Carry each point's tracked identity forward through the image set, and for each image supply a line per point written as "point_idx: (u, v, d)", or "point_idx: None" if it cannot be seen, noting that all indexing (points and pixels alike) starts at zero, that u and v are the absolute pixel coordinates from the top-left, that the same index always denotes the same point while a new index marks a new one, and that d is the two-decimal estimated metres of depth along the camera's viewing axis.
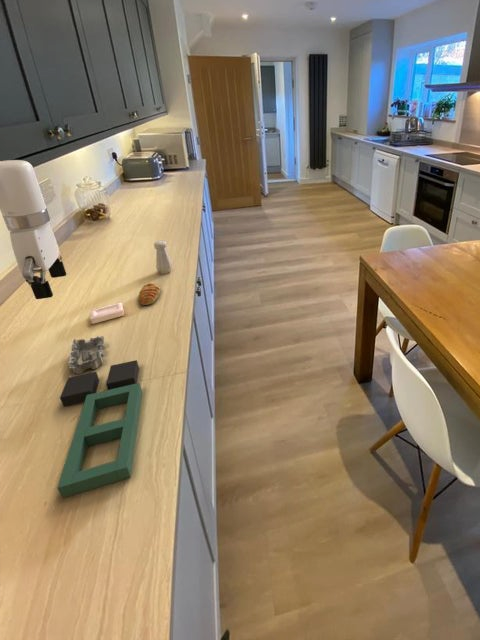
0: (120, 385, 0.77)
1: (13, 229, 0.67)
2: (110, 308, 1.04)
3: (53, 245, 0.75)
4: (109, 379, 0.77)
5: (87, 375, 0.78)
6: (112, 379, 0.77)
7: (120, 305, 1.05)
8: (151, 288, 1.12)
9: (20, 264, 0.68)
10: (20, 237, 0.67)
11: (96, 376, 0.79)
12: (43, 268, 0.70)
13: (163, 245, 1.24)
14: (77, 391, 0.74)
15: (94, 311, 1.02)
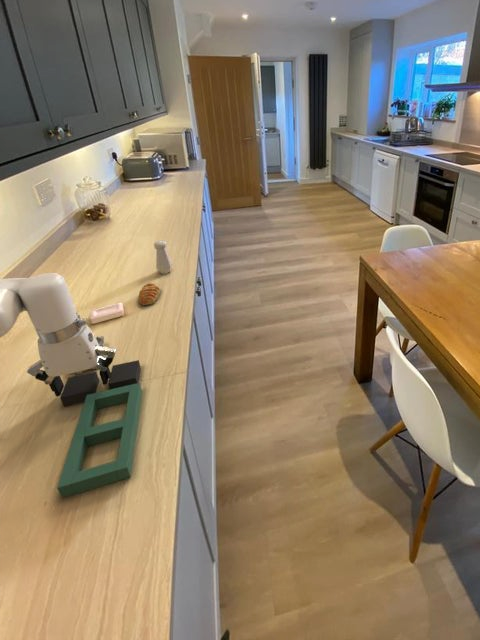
0: (122, 385, 0.77)
1: None
2: (110, 308, 1.04)
3: (75, 360, 0.71)
4: (111, 379, 0.77)
5: (87, 375, 0.78)
6: (114, 379, 0.77)
7: (120, 305, 1.05)
8: (151, 288, 1.12)
9: None
10: None
11: (96, 376, 0.79)
12: (47, 374, 0.71)
13: (163, 245, 1.24)
14: (77, 391, 0.74)
15: (94, 311, 1.02)
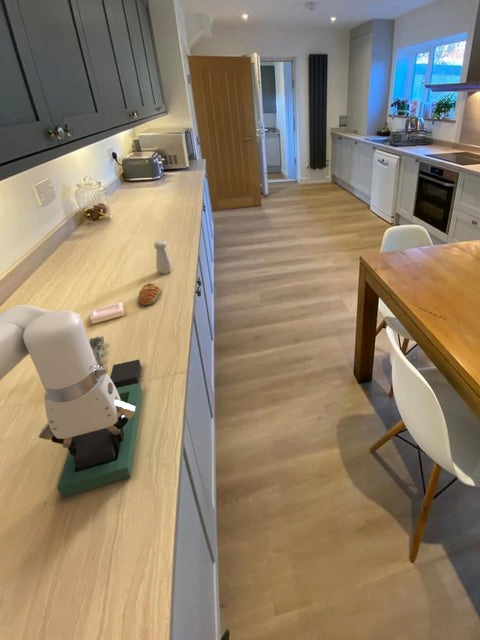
0: (123, 384, 0.77)
1: None
2: (110, 308, 1.04)
3: (91, 418, 0.56)
4: (112, 378, 0.77)
5: None
6: (115, 378, 0.77)
7: (120, 305, 1.05)
8: (151, 288, 1.12)
9: None
10: None
11: None
12: (54, 435, 0.56)
13: (163, 245, 1.24)
14: (94, 450, 0.59)
15: (94, 311, 1.02)
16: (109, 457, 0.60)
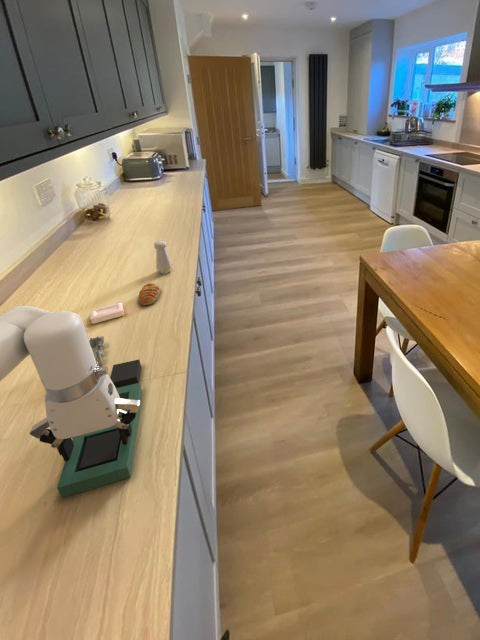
0: (123, 384, 0.77)
1: None
2: (110, 308, 1.04)
3: (91, 419, 0.56)
4: (112, 378, 0.77)
5: (110, 435, 0.64)
6: (115, 378, 0.77)
7: (120, 305, 1.05)
8: (151, 288, 1.12)
9: None
10: None
11: None
12: (54, 436, 0.56)
13: (163, 245, 1.24)
14: (99, 459, 0.60)
15: (94, 311, 1.02)
16: None
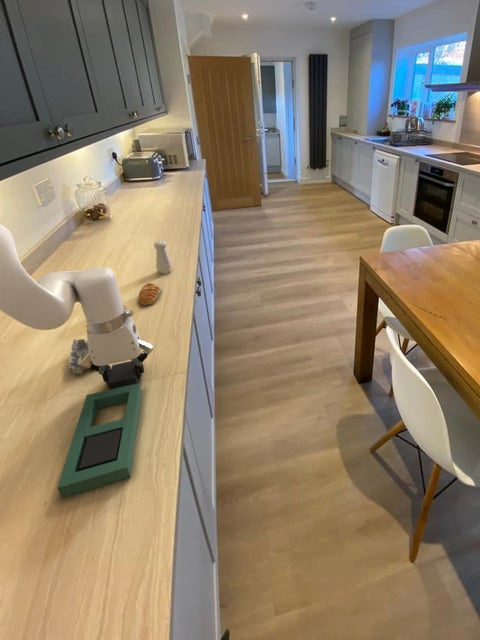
0: (121, 384, 0.77)
1: None
2: None
3: (121, 350, 0.74)
4: (110, 378, 0.77)
5: (110, 435, 0.64)
6: (113, 378, 0.77)
7: None
8: (151, 288, 1.12)
9: None
10: None
11: (121, 435, 0.65)
12: (93, 363, 0.74)
13: (163, 245, 1.24)
14: (99, 459, 0.60)
15: None
16: None
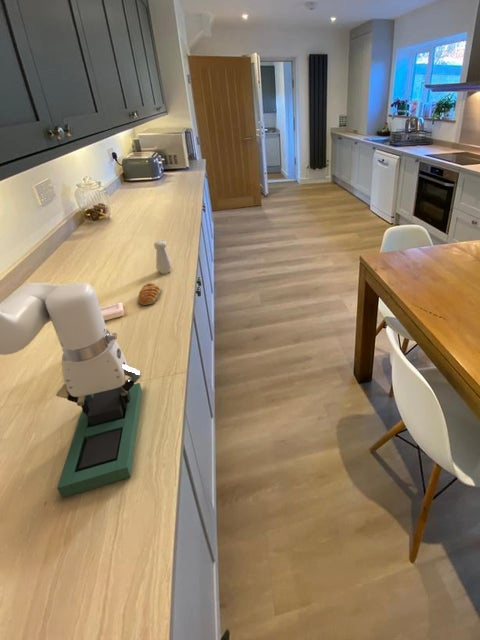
0: (104, 417, 0.67)
1: None
2: (110, 308, 1.04)
3: (102, 379, 0.64)
4: (91, 410, 0.67)
5: (110, 435, 0.64)
6: (94, 410, 0.67)
7: (120, 305, 1.05)
8: (151, 288, 1.12)
9: None
10: None
11: (121, 435, 0.65)
12: (70, 393, 0.64)
13: (163, 245, 1.24)
14: (99, 459, 0.60)
15: None
16: None
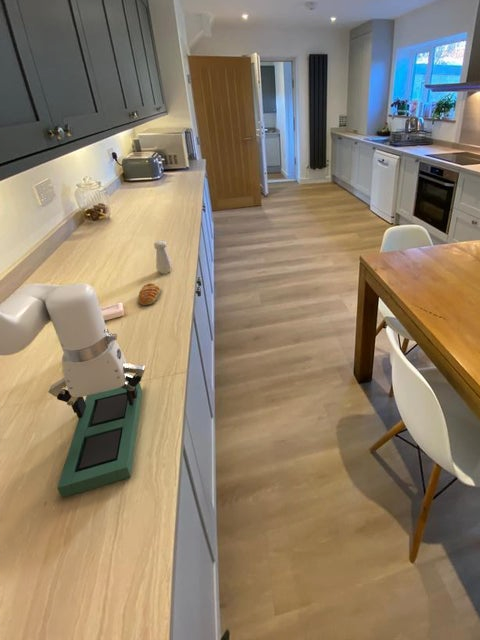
0: None
1: None
2: (110, 308, 1.04)
3: (102, 379, 0.64)
4: (95, 418, 0.68)
5: (110, 435, 0.64)
6: (99, 418, 0.68)
7: (120, 305, 1.05)
8: (151, 288, 1.12)
9: None
10: None
11: (121, 435, 0.65)
12: (70, 394, 0.64)
13: (163, 245, 1.24)
14: (99, 459, 0.60)
15: None
16: None
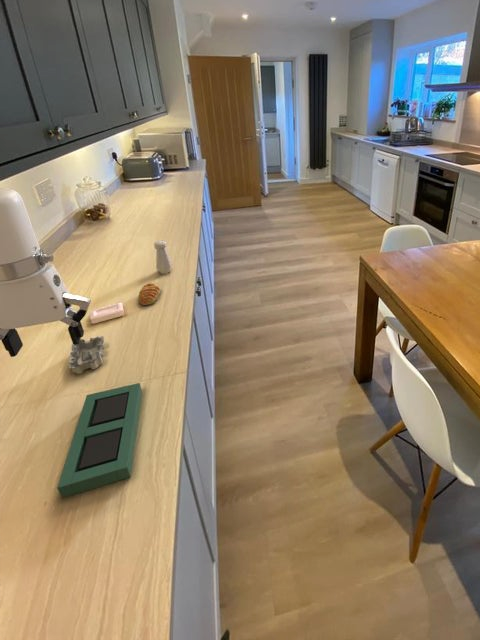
0: None
1: None
2: (110, 308, 1.04)
3: (36, 308, 0.55)
4: (95, 418, 0.68)
5: (110, 435, 0.64)
6: (99, 418, 0.68)
7: (120, 305, 1.05)
8: (151, 288, 1.12)
9: None
10: None
11: (121, 435, 0.65)
12: None
13: (163, 245, 1.24)
14: (99, 459, 0.60)
15: (94, 311, 1.02)
16: None
